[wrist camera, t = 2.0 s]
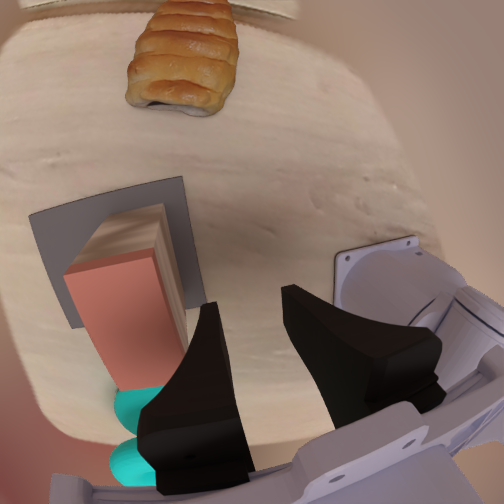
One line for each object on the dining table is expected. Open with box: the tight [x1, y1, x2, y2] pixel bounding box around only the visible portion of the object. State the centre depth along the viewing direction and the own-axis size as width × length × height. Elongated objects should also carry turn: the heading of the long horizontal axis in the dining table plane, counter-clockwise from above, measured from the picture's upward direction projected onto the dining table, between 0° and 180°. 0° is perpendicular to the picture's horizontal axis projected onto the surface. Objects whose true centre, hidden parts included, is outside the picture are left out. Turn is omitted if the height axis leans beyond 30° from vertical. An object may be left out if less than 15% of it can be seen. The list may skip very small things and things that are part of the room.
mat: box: [28, 176, 207, 329], centre depth 20 cm, size 12×10×1 cm
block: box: [63, 203, 188, 391], centre depth 16 cm, size 4×7×9 cm, turn 6°
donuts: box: [109, 386, 164, 486], centre depth 22 cm, size 10×10×10 cm
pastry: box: [125, 0, 239, 117], centre depth 14 cm, size 9×7×4 cm
